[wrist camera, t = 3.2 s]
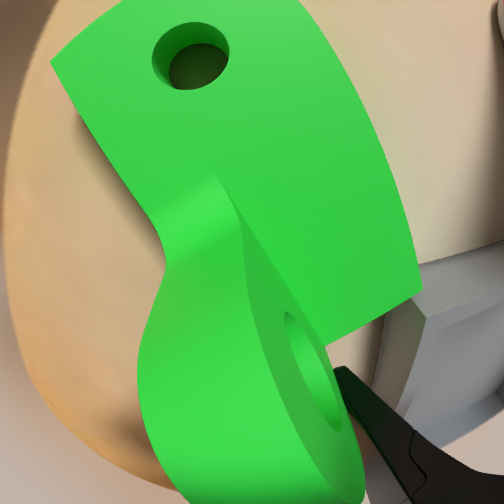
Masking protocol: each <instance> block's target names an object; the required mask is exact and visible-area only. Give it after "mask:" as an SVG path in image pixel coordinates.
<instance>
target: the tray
mask: <svg viewBox="0 0 504 504" xmlns="http://www.w3.org/2000/svg"><path fill="white" fill-rule="evenodd" d="M418 266H419V271H420V276H421V281H422V286H423V290H421V291H420V292H418V293H417V294H415V295H414V296H412V297H411V298H409V299H407V300H406V301H404V302H403V303H401V304H399V305H398V306H396V307H395V308H393V309H391V310H390V311H388V312H386V313H385V318H384V325H383V331H382V337H381V343H380V349H379V354H378V360H377V365H376V369H375V374H374V379H373V383H372V387H371V390H372V391H373V392H374V393H376V394H377V395H378V396H379V397H380V398H381V399H382V400H383V401H384V402H385V403H387V404H388V405H389V406H390V407H391V408H392V409H393V410H394V411H395V412H397V413H398V414H399V415H400V416H401V417H402V418H403V419H404V420H405V421H407V422H408V423H409V424H410V425H411V426H412V427H413V428H414V429H416V430H417V431H418V432H419V433H420V434H421V435H422V436H424V437H425V438H426V439H427V440H429V441H430V442H431V443H432V444H434V445H435V446H436V447H438V448H439V449H440V448H442V447H444V446H446V445H448V444H450V443H452V442H454V441H456V440H457V439H459V438H461V437H463V436H464V435H466V434H468V433H469V432H471V431H473V430H474V429H476V428H478V427H479V426H481V425H482V424H484V423H486V422H487V421H488V420H490V419H491V418H493V417H494V416H496V415H497V414H499V413H500V412H502V411H503V410H504V241H501V242H498V243H494V244H491V245H488V246H485V247H481V248H478V249H474V250H471V251H467V252H464V253H460V254H457V255H453V256H450V257H446V258H442V259H439V260H435V261H431V262H427V263H424V264H420V265H418Z"/></svg>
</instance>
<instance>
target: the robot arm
mask: <svg viewBox="0 0 504 504" xmlns="http://www.w3.org/2000/svg"><path fill="white" fill-rule="evenodd" d="M333 371H334V374H335V377H336V380H337V383H338V386H339V388H340V391H341V394H342V397H343V400H344V403H345V405H346V408H347V411H348V413H349V416H350V419H351V422H352V425H353V428H354V431H355V434H356V438H357V441H358V445H359V448H360V452H361V457H362V461H363V467H364V473H365V489H366V492H367V495H368V498H369V501H370V503H371V504H504V475H495V474H487V473H482V472H478V471H475V470H473V469H471V468H469V467H467V466H466V465H464V464H463V463H461V462H459V461H458V460H456V459H455V458H453V457H451V456H450V455H448V454H447V453H445V452H444V451H442V450H441V449H439V448H438V447H436V446H435V445H434V444H432V443H431V442H430V441H429V440H427V439H426V438H425V437H424V436H422V435H421V434H420V433H419V432H418V431H417V430H416V429H414V428H413V427H412V426H411V425H410V424H409V423H408V422H407V421H405V420H404V419H403V418H402V417H401V416H400V415H399V414H398V413H397V412H395V411H394V410H393V409H392V408H391V407H390V406H389V405H388V404H387V403H385V402H384V401H383V400H382V399H381V398H380V397H379V396H378V395H377V394H376V393H374V392H373V391H372V390H371V389H370V388H369V387H368V386H367V385H366V384H365V383H364V382H362V381H361V380H360V379H359V378H358V377H357V376H356V375H355V374H354V373H353V372H352V371H351V370H349V369H348V368H347V367H346V366H340V367H336V368H334V369H333Z"/></svg>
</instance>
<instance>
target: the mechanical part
mask: <svg viewBox="0 0 504 504" xmlns="http://www.w3.org/2000/svg"><path fill="white" fill-rule="evenodd" d="M198 43H206V44H211V45H214V46H216V47H218V48H219V49H221V50H222V51H223V52H224V53H225V54H226V56H227V58H228V63H227V66H226V67H225V69H224V71H223V72H222V73H221V75H220V76H219V77H218V78H217V79H215V80H214V81H213V82H211V83H210V84H208V85H206V86H204V87H201V88H198V89H194V90H179V89H175V88H174V86H173V85H172V83H171V80H170V76H169V69H170V65H171V62H172V60H173V59H174V57H175V56H176V55H177V54H178V53H179V52H180V51H181V50H182V49H184V48H185V47H187V46H190V45H193V44H198ZM50 63H51V65H52V67H53V69H54V70H55V72H56V74H57V76H58V78H59V79H60V81H61V83H62V85H63V87H64V88H65V90H66V92H67V94H68V95H69V97H70V99H71V100H72V102H73V104H74V105H75V107H76V109H77V110H78V112H79V114H80V115H81V117H82V119H83V120H84V122H85V124H86V125H87V127H88V128H89V130H90V132H91V133H92V135H93V136H94V138H95V140H96V141H97V143H98V144H99V146H100V147H101V149H102V150H103V152H104V153H105V155H106V157H107V158H108V160H109V161H110V163H111V164H112V166H113V167H114V169H115V170H116V172H117V173H118V174H119V176H120V177H121V179H122V180H123V182H124V183H125V185H126V186H127V188H128V189H129V190H130V192H131V193H132V195H133V196H134V198H135V199H136V200H137V202H138V203H139V205H140V206H141V208H142V209H143V210H144V212H145V213H146V214H147V216H148V217H149V219H150V220H151V222H152V224H153V225H154V227H155V229H156V231H157V233H158V235H159V237H160V240H161V243H162V245H163V249H164V252H165V258H166V270H165V274H164V277H163V279H162V282H161V285H160V287H159V290H158V293H157V296H156V298H155V301H154V304H153V307H152V310H151V312H150V315H149V318H148V321H147V324H146V327H145V330H144V333H143V336H142V340H141V344H140V348H139V355H138V365H137V383H138V396H139V402H140V407H141V413H142V417H143V421H144V424H145V428H146V431H147V434H148V437H149V440H150V442H151V445H152V447H153V450H154V452H155V454H156V456H157V458H158V460H159V462H160V464H161V466H162V468H163V469H164V471H165V473H166V474H167V476H168V477H169V479H170V480H171V482H172V483H173V485H174V486H175V487H176V488H177V489H178V491H179V492H180V493H181V494H182V495H183V497H184V498H185V499H186V500H187V501H188V502H189V503H190V504H361V502H362V501H363V499H364V495H365V473H364V467H363V461H362V457H361V452H360V448H359V445H358V441H357V438H356V434H355V431H354V428H353V425H352V422H351V419H350V416H349V413H348V411H347V408H346V405H345V403H344V400H343V397H342V394H341V391H340V388H339V386H338V383H337V380H336V377H335V374H334V371H333V368H332V366H331V363H330V360H329V357H328V355H327V352H326V349H325V347H324V346H326V345H328V344H330V343H332V342H334V341H336V340H338V339H339V338H341V337H343V336H345V335H347V334H349V333H351V332H353V331H355V330H356V329H358V328H360V327H362V326H364V325H365V324H367V323H369V322H371V321H373V320H374V319H376V318H378V317H379V316H381V315H383V314H385V313H386V312H388V311H390V310H391V309H393V308H395V307H396V306H398V305H399V304H401V303H403V302H404V301H406V300H407V299H409V298H411V297H412V296H414V295H415V294H417V293H418V292H420V291H421V290H423V286H422V281H421V276H420V271H419V266H418V261H417V257H416V253H415V249H414V245H413V241H412V237H411V233H410V229H409V226H408V222H407V219H406V215H405V212H404V208H403V205H402V202H401V199H400V196H399V193H398V190H397V187H396V184H395V181H394V178H393V175H392V172H391V170H390V167H389V164H388V162H387V159H386V156H385V154H384V151H383V149H382V146H381V144H380V142H379V139H378V137H377V134H376V132H375V130H374V128H373V125H372V123H371V121H370V119H369V116H368V114H367V112H366V110H365V108H364V106H363V104H362V102H361V100H360V98H359V96H358V94H357V92H356V90H355V88H354V86H353V84H352V82H351V80H350V78H349V77H348V75H347V73H346V71H345V69H344V68H343V66H342V64H341V62H340V61H339V59H338V57H337V55H336V54H335V52H334V50H333V49H332V47H331V46H330V44H329V42H328V41H327V39H326V38H325V36H324V35H323V33H322V31H321V30H320V28H319V27H318V25H317V24H316V23H315V21H314V20H313V18H312V17H311V15H310V14H309V13H308V12H307V10H306V9H305V8H304V7H303V6H302V5H301V4H300V3H299V2H298V1H297V0H122V1H121V2H119V3H118V4H117V5H115V6H114V7H112V8H111V9H110V10H108V11H107V12H106V13H104V14H103V15H102V16H100V17H99V18H98V19H96V20H95V21H94V22H93V23H91V24H90V25H89V26H88V27H86V28H85V29H84V30H83V31H82V32H81V33H79V34H78V35H77V36H76V37H75V38H74V39H73V40H72V41H70V42H69V43H68V44H67V45H66V46H65V47H64V48H63V49H62V50H61V51H60V52H59V53H58V54H57V55H56V56H55V57H54V58H53V59H52V60H51V61H50Z"/></svg>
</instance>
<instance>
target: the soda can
mask: <svg viewBox="0 0 504 504" xmlns="http://www.w3.org/2000/svg"><path fill="white" fill-rule="evenodd" d="M497 14H498V22H499V27H500V31H501V35H502V39H503V42H504V0H499V3H498V9H497Z"/></svg>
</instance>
